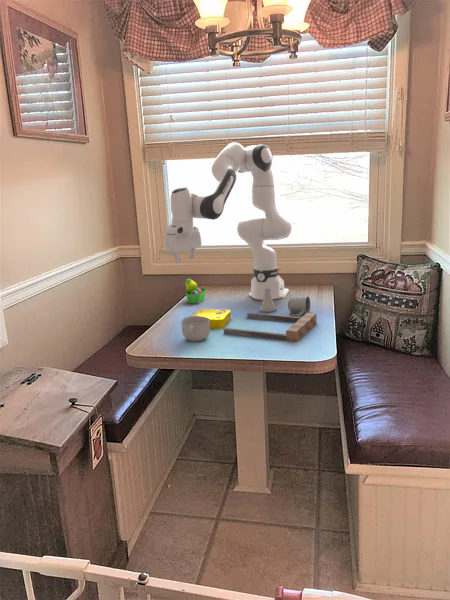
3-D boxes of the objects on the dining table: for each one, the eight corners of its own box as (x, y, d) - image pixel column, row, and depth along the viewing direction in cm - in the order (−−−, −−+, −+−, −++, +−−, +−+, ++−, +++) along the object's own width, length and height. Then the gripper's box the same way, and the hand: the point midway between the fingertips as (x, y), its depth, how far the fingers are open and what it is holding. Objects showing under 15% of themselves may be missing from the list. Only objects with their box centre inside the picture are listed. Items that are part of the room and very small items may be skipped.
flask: (275, 312, 225) (274, 290, 223) (259, 312, 227) (258, 290, 224) (277, 308, 232) (276, 286, 230) (261, 308, 234) (260, 286, 231)
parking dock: (248, 316, 221) (248, 308, 220) (316, 323, 207) (316, 313, 206) (223, 333, 201) (223, 324, 200) (296, 342, 187) (296, 331, 186)
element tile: (198, 318, 225) (198, 307, 224) (232, 318, 221) (231, 308, 220) (188, 328, 211) (187, 317, 210) (223, 329, 207) (222, 318, 206)
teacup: (190, 333, 203) (188, 314, 201) (215, 335, 199) (214, 315, 197) (174, 345, 191) (172, 324, 189) (200, 347, 187) (199, 326, 185)
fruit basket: (200, 304, 246) (198, 281, 243) (183, 303, 248) (181, 281, 245) (207, 298, 257) (206, 276, 254) (190, 297, 259) (189, 276, 256)
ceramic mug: (292, 310, 228) (292, 293, 226) (310, 311, 224) (310, 294, 222) (285, 317, 219) (284, 299, 216) (304, 318, 215) (303, 300, 213)
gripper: (192, 225, 223) (194, 257, 226) (161, 230, 207) (163, 264, 210) (203, 225, 220) (205, 257, 223) (173, 230, 203) (175, 264, 207)
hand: (185, 260), depth 216 cm, fingers open, 8 cm apart
